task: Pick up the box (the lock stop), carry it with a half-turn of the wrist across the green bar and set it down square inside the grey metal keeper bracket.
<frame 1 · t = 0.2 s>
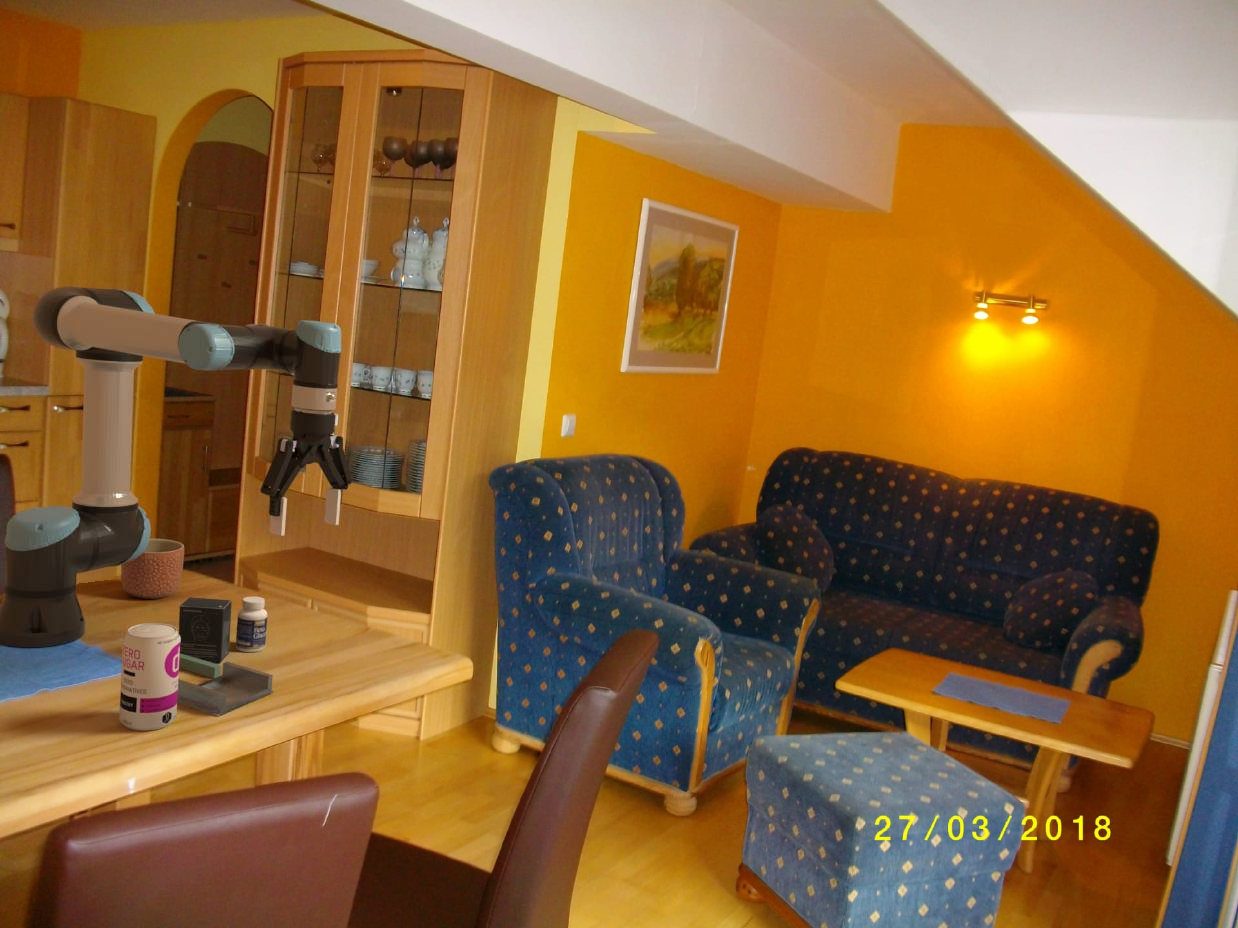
hand: (305, 528, 185), 27 cm above the table, fingers open, 13 cm apart
green bar: (186, 668, 187), on the table
pill bottle: (250, 649, 200), on the table
box: (203, 658, 193), on the table
keeper: (223, 696, 176), on the table
supplement can: (148, 722, 164), on the table
planter: (150, 595, 225), on the table
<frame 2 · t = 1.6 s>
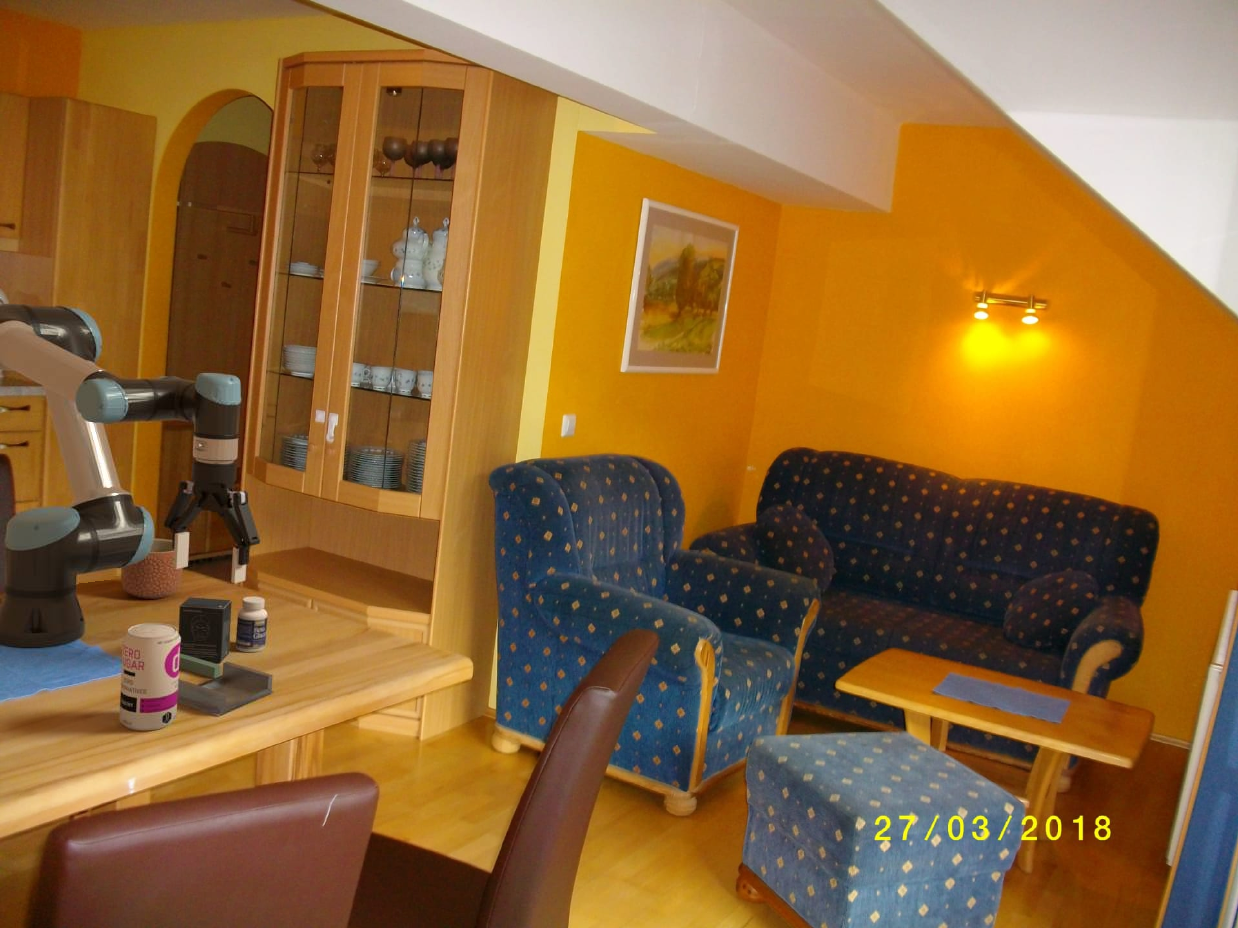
hand: (209, 574, 191), 16 cm above the table, fingers open, 13 cm apart
nothing on the table moved.
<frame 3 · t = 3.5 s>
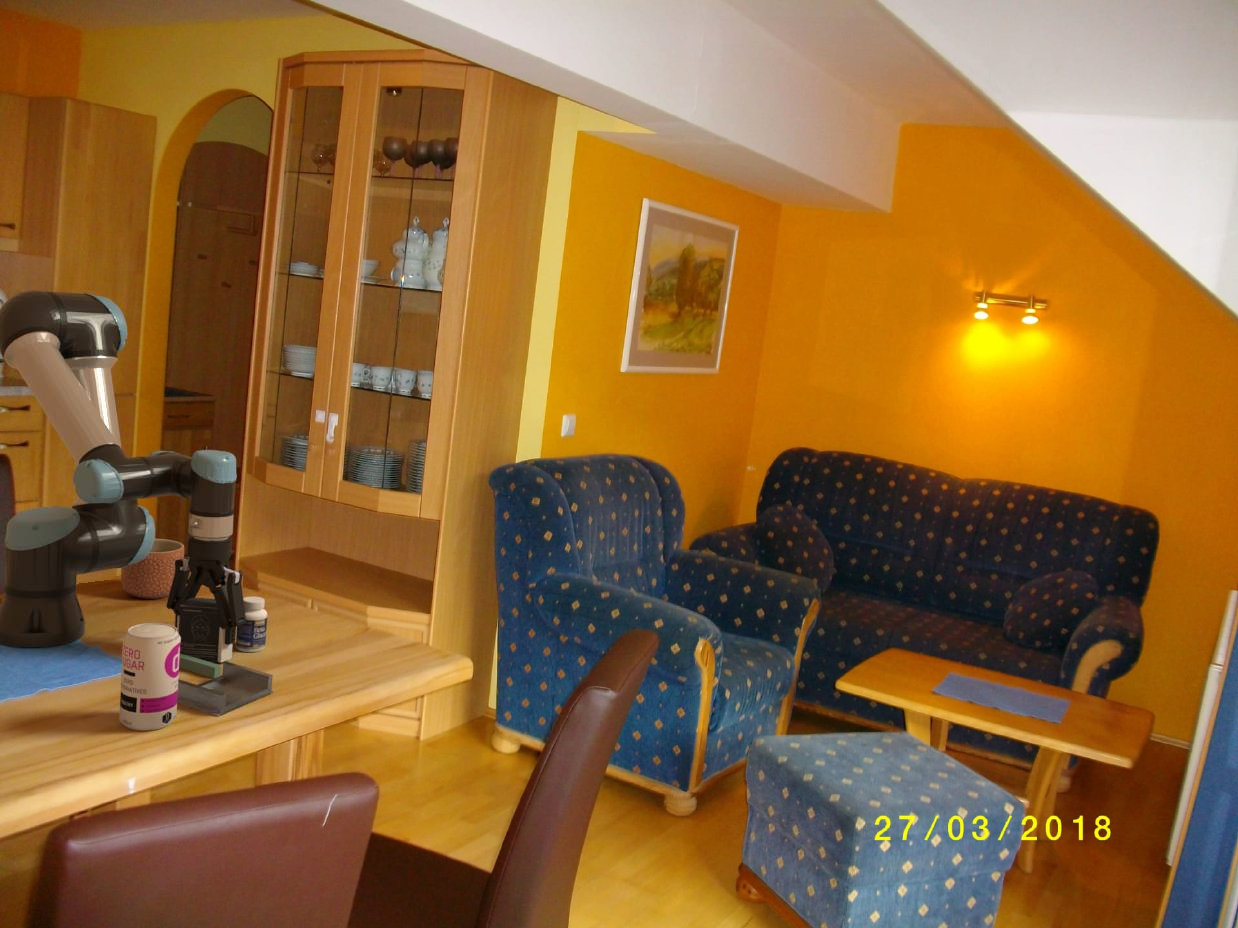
hand: (203, 653, 193), 1 cm above the table, fingers closed on box, 9 cm apart
box: (203, 657, 193), on the table, touching gripper
everything else where it was.
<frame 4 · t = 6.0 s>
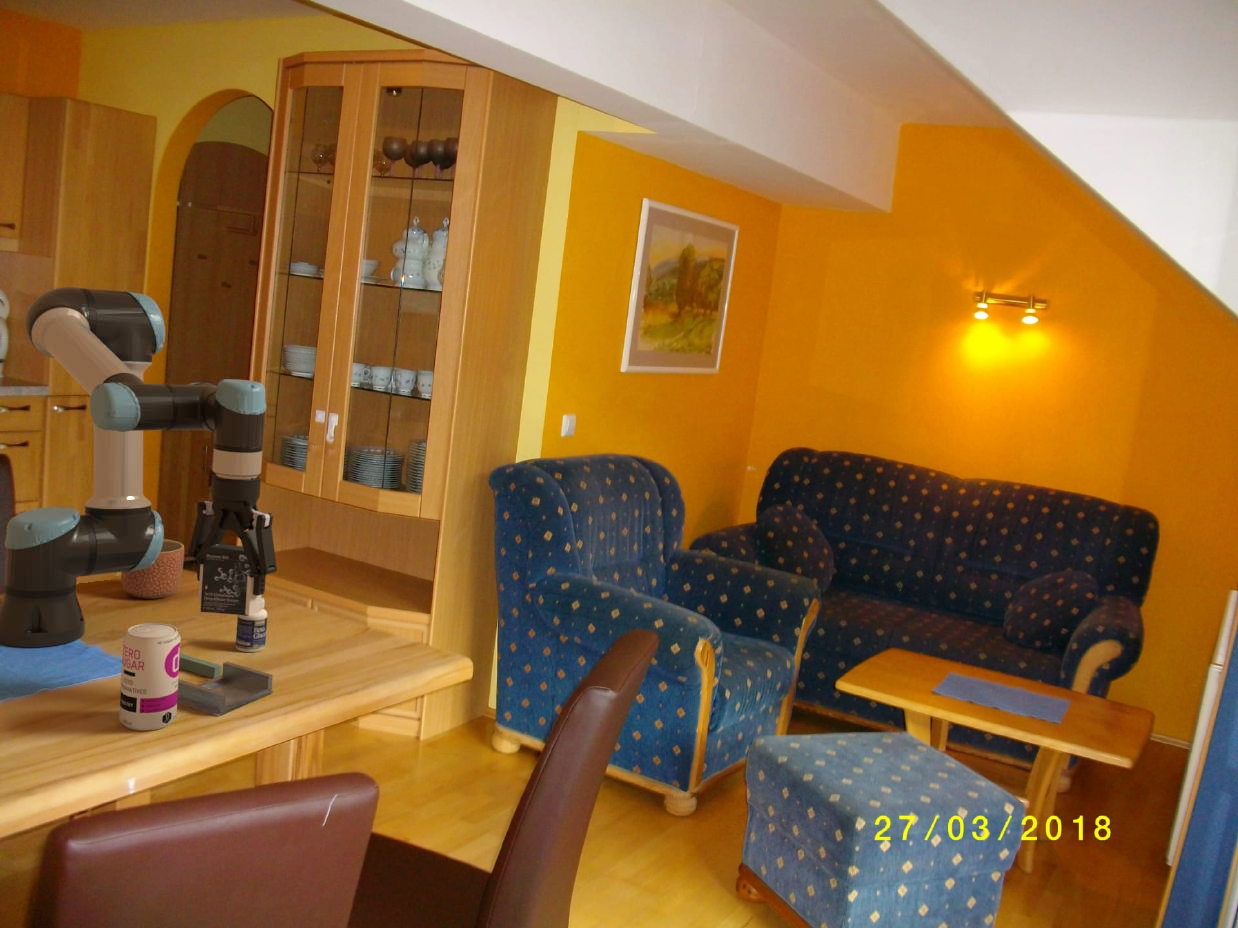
hand: (229, 606, 174), 16 cm above the table, fingers closed on box, 9 cm apart
box: (229, 611, 174), point 15 cm above the table, touching gripper
everything else where it was.
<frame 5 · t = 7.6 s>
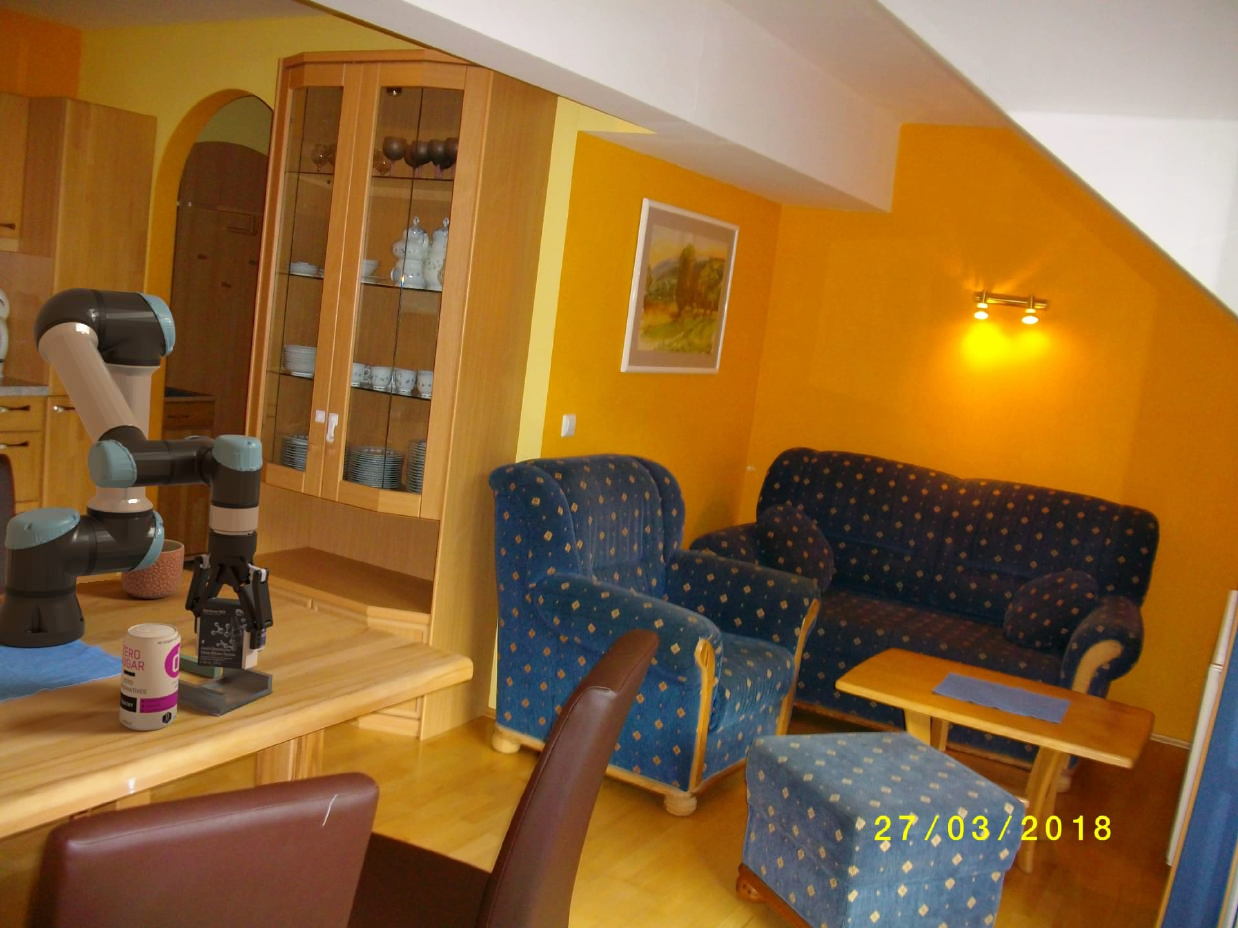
hand: (226, 659, 175), 7 cm above the table, fingers closed on box, 9 cm apart
box: (225, 664, 175), point 6 cm above the table, touching gripper
everything else where it was.
when the fingers open (3 cm above the table, at t = 8.8 s): box drops 1 cm, resting on keeper.
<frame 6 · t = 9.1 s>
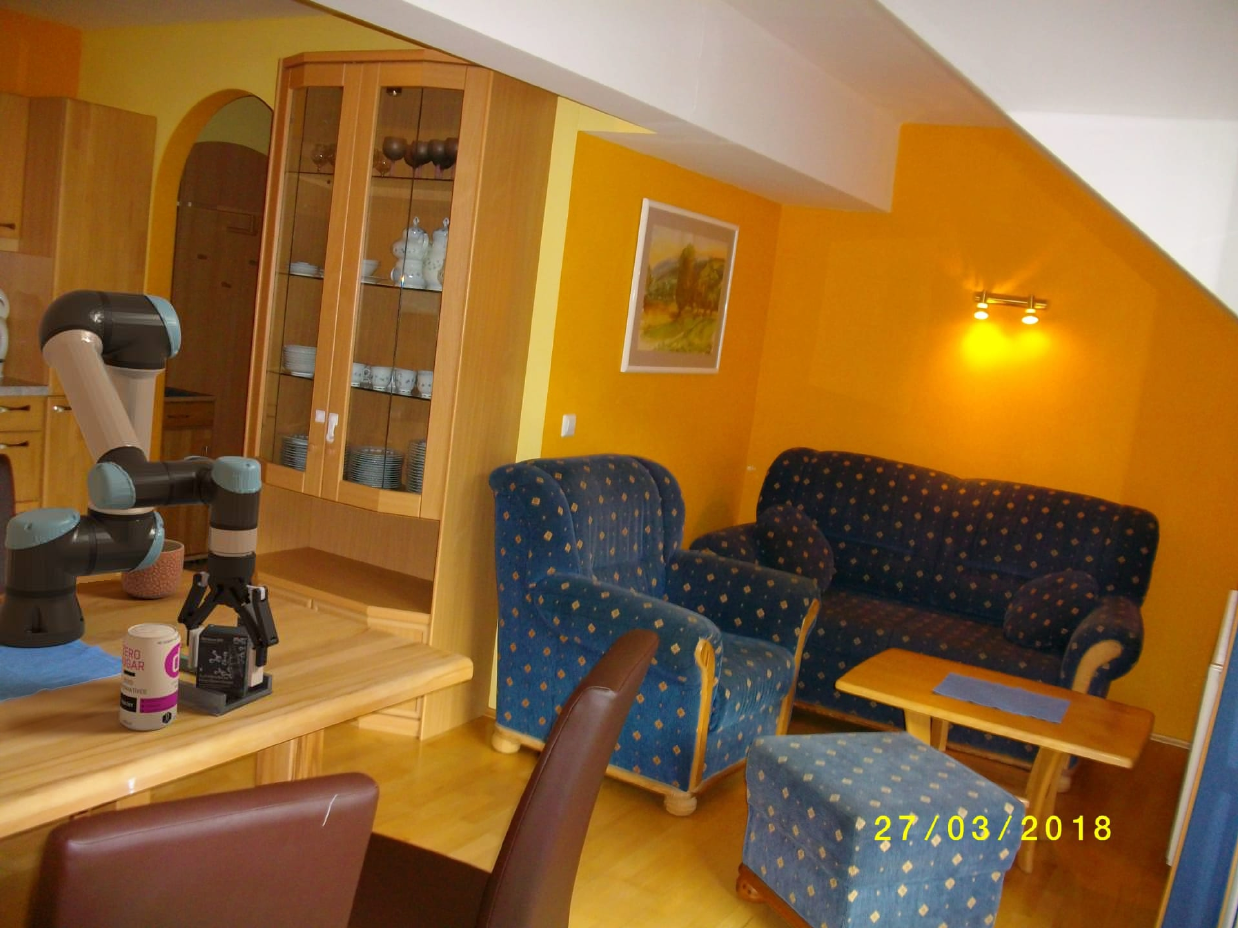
hand: (224, 674, 176), 4 cm above the table, fingers open, 12 cm apart
box: (223, 691, 176), point 1 cm above the table, touching keeper
everything else where it was.
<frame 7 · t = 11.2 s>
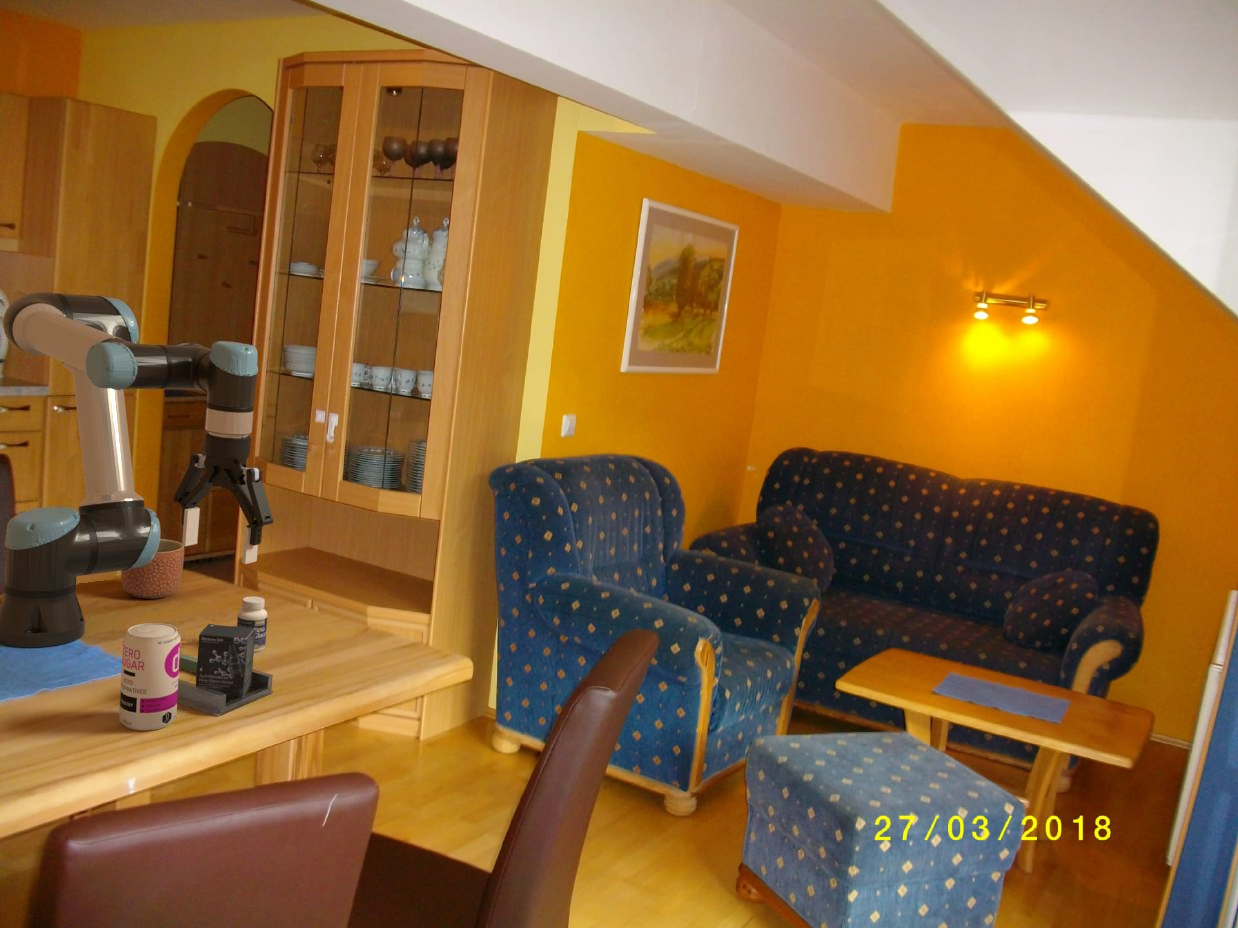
hand: (219, 553, 181), 22 cm above the table, fingers open, 13 cm apart
nothing on the table moved.
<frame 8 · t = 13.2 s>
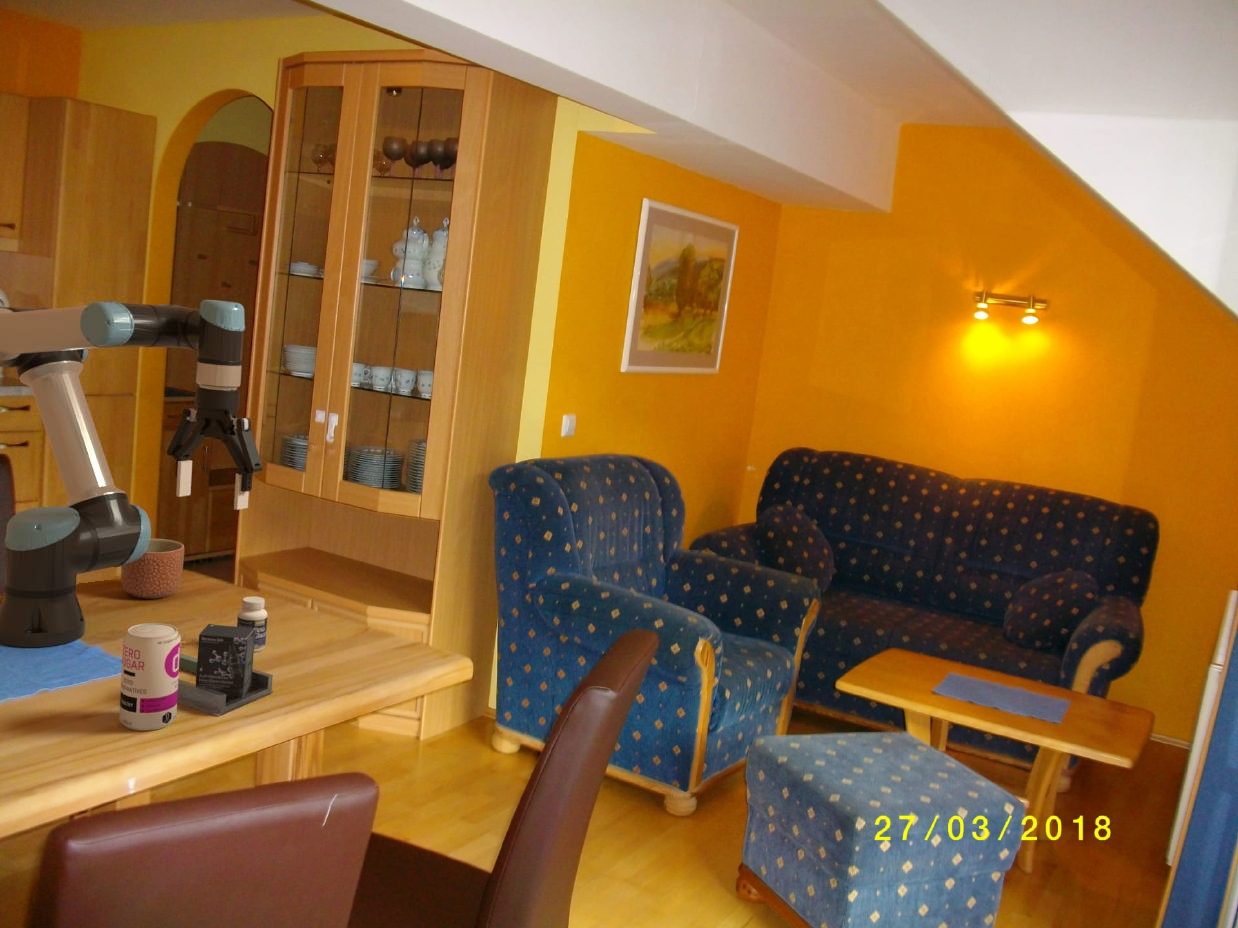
hand: (211, 502, 191), 29 cm above the table, fingers open, 13 cm apart
nothing on the table moved.
at the end: box 0.0 cm off-centre on the keeper, point 1.0 cm above the keeper's base; box tilted 0°; the gripper is holding nothing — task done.
